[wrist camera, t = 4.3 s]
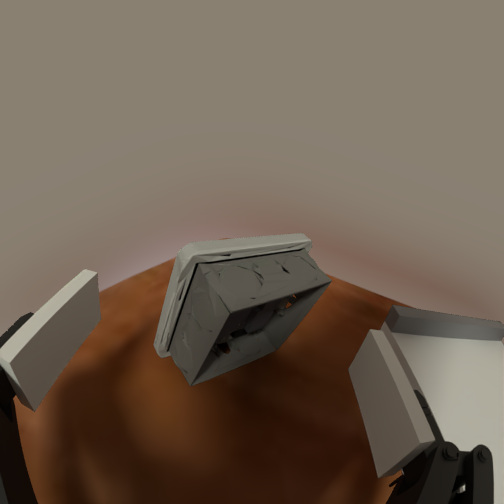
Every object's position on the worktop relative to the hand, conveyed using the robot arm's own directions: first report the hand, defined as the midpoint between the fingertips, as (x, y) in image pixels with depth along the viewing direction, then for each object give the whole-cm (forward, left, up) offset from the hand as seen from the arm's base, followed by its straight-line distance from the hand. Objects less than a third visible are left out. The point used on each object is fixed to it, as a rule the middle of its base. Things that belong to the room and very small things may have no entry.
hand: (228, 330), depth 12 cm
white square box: (-20, +2, -6) cm, 21 cm away
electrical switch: (-1, -5, -6) cm, 8 cm away
